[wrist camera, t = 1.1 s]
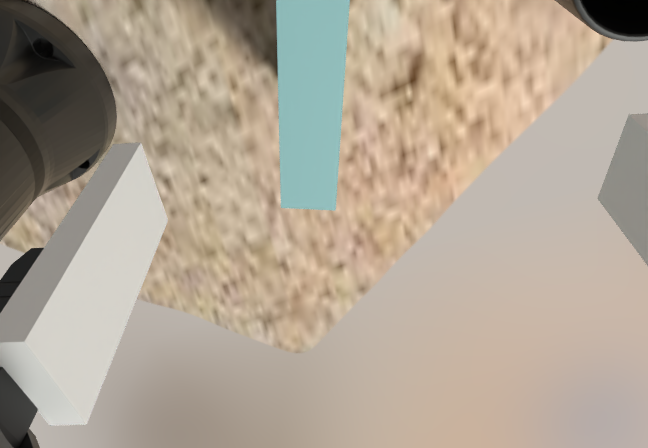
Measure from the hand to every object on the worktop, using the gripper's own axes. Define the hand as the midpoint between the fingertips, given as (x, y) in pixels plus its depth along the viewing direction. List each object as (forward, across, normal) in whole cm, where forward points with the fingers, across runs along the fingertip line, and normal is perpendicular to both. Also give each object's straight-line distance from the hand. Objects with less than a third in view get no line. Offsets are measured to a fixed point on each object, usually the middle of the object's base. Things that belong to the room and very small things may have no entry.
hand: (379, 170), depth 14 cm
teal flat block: (+24, -2, -1) cm, 24 cm away
